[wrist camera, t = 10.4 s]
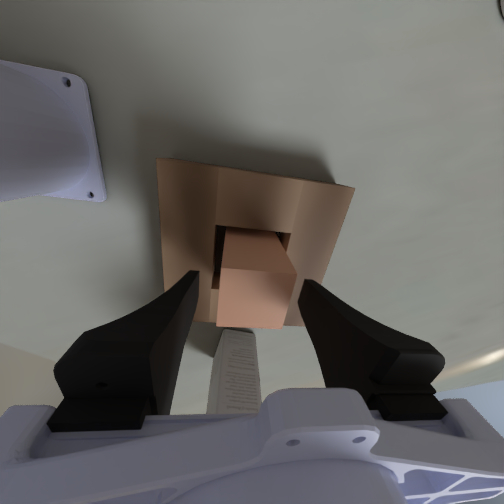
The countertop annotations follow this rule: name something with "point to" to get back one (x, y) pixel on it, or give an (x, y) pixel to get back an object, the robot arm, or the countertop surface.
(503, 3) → the supplement bottle
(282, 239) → the walnut socket block
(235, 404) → the skincare box
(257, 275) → the terracotta peg
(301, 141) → the countertop surface
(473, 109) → the countertop surface
